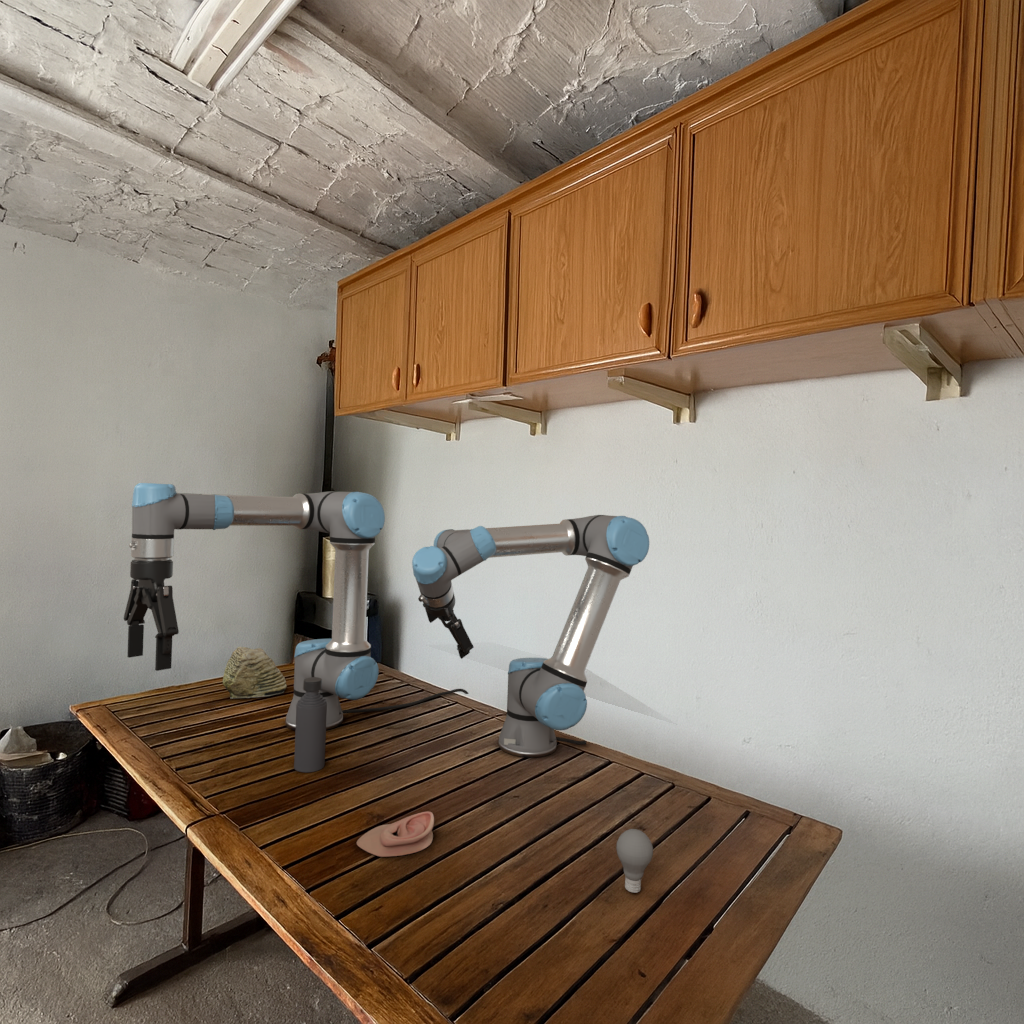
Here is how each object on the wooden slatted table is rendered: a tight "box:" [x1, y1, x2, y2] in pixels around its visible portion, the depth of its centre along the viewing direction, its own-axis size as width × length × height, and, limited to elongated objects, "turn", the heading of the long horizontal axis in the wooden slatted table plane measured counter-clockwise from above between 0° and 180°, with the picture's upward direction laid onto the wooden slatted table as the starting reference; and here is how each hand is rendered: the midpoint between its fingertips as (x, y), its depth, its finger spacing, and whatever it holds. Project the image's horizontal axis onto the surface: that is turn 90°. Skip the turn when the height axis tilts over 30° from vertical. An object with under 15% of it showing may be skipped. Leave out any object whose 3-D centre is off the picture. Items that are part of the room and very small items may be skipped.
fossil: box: [222, 646, 288, 699], centre depth 198 cm, size 9×18×15 cm, turn 132°
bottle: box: [293, 690, 327, 773], centre depth 148 cm, size 7×7×20 cm
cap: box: [303, 677, 322, 691], centre depth 148 cm, size 4×4×2 cm
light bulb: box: [615, 828, 654, 894], centre depth 106 cm, size 6×6×10 cm
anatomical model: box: [356, 811, 435, 858], centre depth 118 cm, size 13×4×12 cm
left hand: (148, 662), depth 129 cm, fingers open, 13 cm apart
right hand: (449, 636), depth 165 cm, fingers open, 13 cm apart
